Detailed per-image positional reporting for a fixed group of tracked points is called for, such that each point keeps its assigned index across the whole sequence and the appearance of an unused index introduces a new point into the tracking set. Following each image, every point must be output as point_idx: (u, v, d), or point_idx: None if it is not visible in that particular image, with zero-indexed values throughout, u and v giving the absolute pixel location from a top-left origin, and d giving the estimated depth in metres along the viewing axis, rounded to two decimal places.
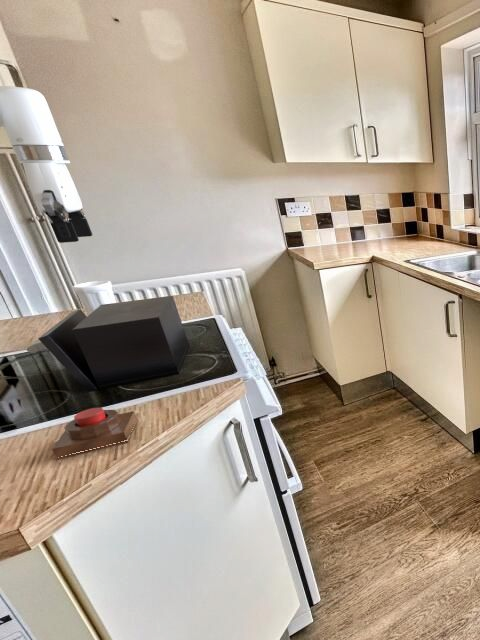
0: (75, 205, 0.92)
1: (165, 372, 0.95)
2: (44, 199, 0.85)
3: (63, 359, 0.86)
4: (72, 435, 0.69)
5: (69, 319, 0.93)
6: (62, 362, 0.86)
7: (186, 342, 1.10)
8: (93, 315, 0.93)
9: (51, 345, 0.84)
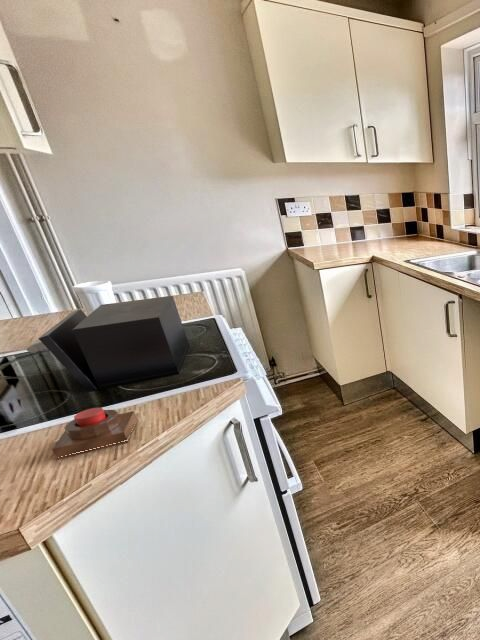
0: None
1: (165, 372, 0.95)
2: None
3: (63, 359, 0.86)
4: (72, 435, 0.69)
5: (69, 319, 0.93)
6: (62, 362, 0.86)
7: (186, 342, 1.10)
8: (93, 315, 0.93)
9: (51, 345, 0.84)
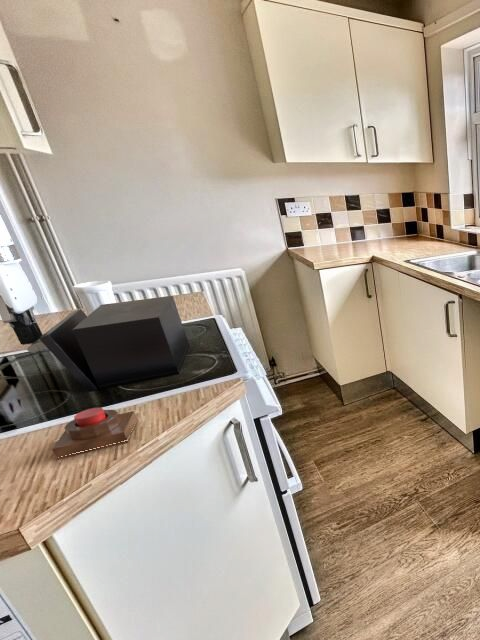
0: (28, 303, 0.87)
1: (165, 372, 0.95)
2: (3, 316, 0.83)
3: (63, 359, 0.86)
4: (72, 435, 0.69)
5: (70, 319, 0.93)
6: (62, 362, 0.86)
7: (186, 342, 1.10)
8: (93, 315, 0.93)
9: (52, 345, 0.84)
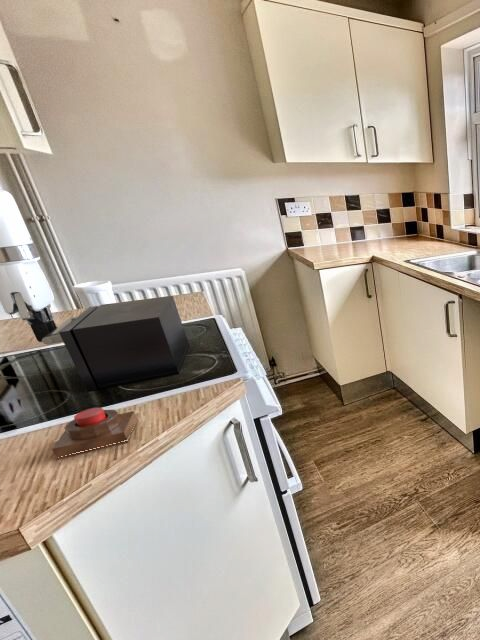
0: (45, 301, 0.88)
1: (165, 372, 0.95)
2: (22, 313, 0.84)
3: (75, 356, 0.86)
4: (72, 435, 0.69)
5: (88, 315, 0.94)
6: (73, 358, 0.86)
7: (186, 342, 1.10)
8: (93, 315, 0.93)
9: (69, 341, 0.85)
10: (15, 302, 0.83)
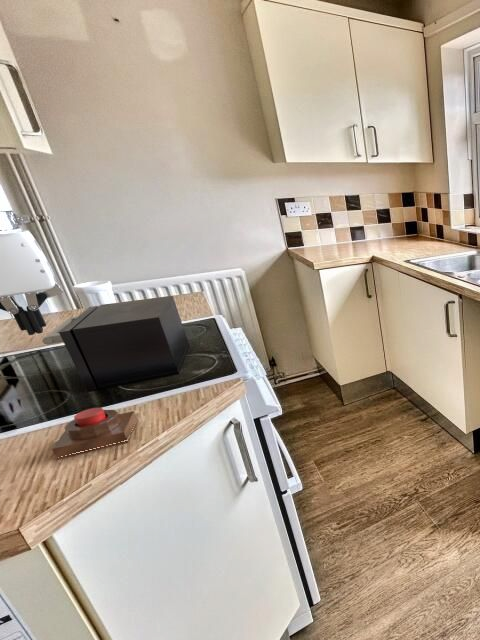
0: (6, 288, 0.69)
1: (165, 372, 0.95)
2: None
3: (75, 356, 0.86)
4: (72, 435, 0.69)
5: (88, 315, 0.94)
6: (73, 358, 0.86)
7: (186, 342, 1.10)
8: (93, 315, 0.93)
9: (69, 341, 0.85)
10: None
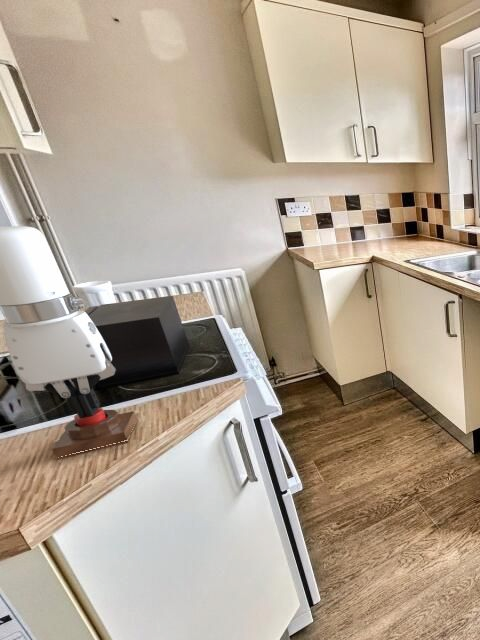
0: (58, 374, 0.66)
1: (165, 372, 0.95)
2: None
3: None
4: (72, 435, 0.69)
5: (88, 315, 0.94)
6: None
7: (186, 342, 1.10)
8: (93, 315, 0.93)
9: None
10: None
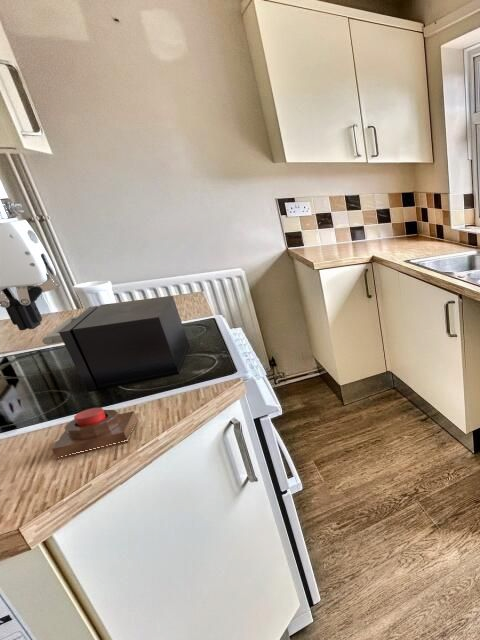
0: None
1: (165, 372, 0.95)
2: None
3: (75, 356, 0.86)
4: (72, 435, 0.69)
5: (88, 315, 0.94)
6: (73, 358, 0.86)
7: (186, 342, 1.10)
8: (93, 315, 0.93)
9: (69, 341, 0.85)
10: None
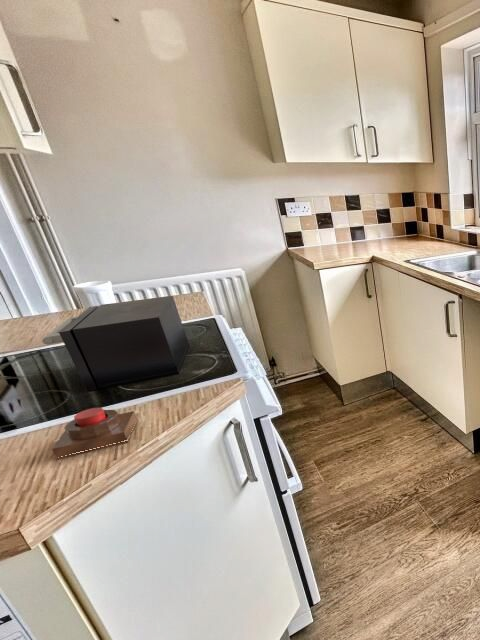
0: None
1: (165, 372, 0.95)
2: None
3: (75, 356, 0.86)
4: (72, 435, 0.69)
5: (88, 315, 0.94)
6: (73, 358, 0.86)
7: (186, 342, 1.10)
8: (93, 315, 0.93)
9: (69, 341, 0.85)
10: None
